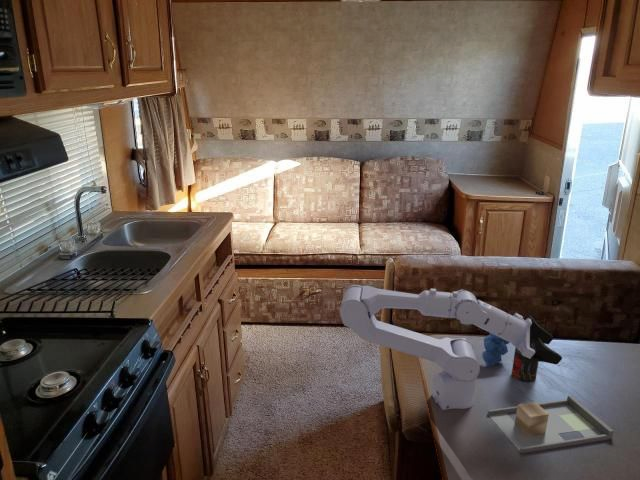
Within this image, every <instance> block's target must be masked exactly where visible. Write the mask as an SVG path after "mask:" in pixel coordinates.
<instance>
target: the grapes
mask: <svg viewBox="0 0 640 480" xmlns="http://www.w3.org/2000/svg"><path fill="white" fill-rule="evenodd" d="M508 344H511V343H510V342H508V341H506V340H504V339H502V338H500V337H498V336H496V335H494V334H492V333H490V332H489V335H487V336H484V338H483V346H484V347H483V348H484V349H485V350H484V351H483V352H482V353H481V354H482V357H481V358H482V360H483V361H484V363H485V365H486V366H487V367H493V366H494V365H495V364H496V365H497V364H499V363H501V362H502V360H503V359H502V356H504V355H506V354H508V352H509V350H508V346H507V345H508Z"/></svg>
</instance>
